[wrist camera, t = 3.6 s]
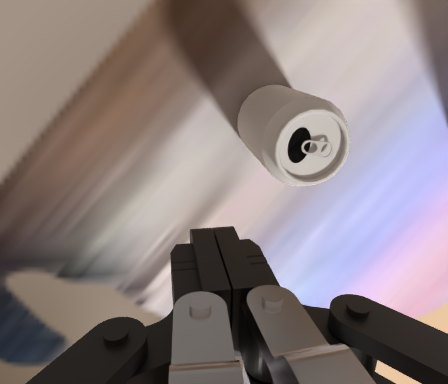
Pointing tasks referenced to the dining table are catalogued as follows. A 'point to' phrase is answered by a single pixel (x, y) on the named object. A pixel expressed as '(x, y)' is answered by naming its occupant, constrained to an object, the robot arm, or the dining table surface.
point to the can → (294, 134)
